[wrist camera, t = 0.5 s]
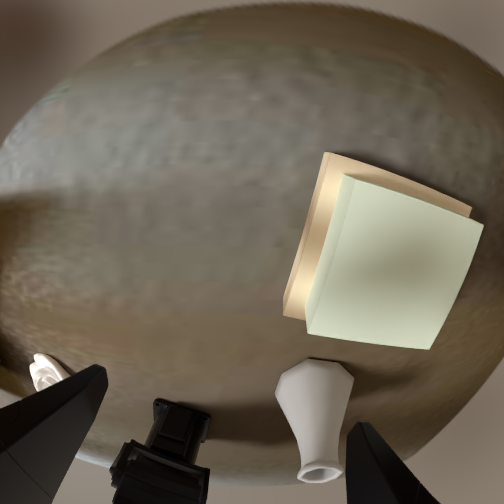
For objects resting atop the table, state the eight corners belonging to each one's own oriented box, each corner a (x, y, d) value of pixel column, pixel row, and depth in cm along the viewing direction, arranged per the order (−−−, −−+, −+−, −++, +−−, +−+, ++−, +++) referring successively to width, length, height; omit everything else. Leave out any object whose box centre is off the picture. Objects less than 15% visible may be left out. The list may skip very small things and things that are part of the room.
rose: (34, 408, 28) (7, 360, 25) (48, 390, 32) (25, 342, 29) (83, 432, 27) (56, 385, 24) (96, 411, 31) (75, 362, 28)
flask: (366, 372, 24) (390, 460, 14) (321, 414, 26) (326, 495, 17) (304, 345, 23) (310, 445, 14) (261, 393, 26) (251, 481, 16)
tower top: (414, 325, 19) (428, 349, 16) (304, 307, 19) (307, 333, 16) (459, 213, 16) (483, 225, 13) (342, 173, 16) (355, 179, 13)
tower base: (403, 319, 22) (414, 339, 19) (283, 294, 22) (283, 315, 19) (451, 198, 18) (471, 207, 15) (323, 152, 18) (330, 152, 15)
